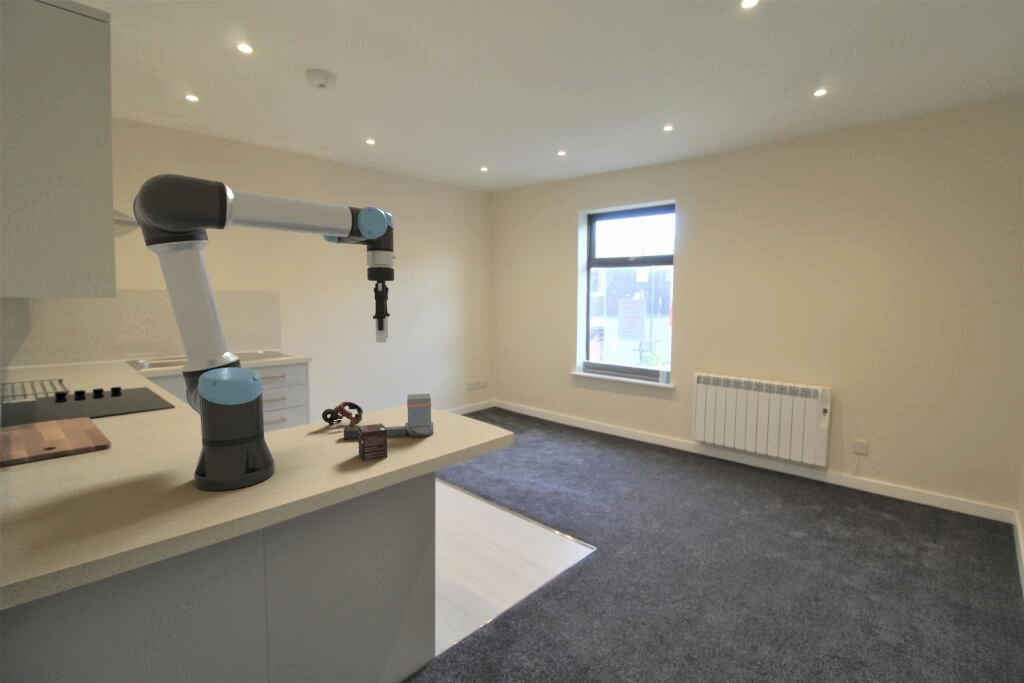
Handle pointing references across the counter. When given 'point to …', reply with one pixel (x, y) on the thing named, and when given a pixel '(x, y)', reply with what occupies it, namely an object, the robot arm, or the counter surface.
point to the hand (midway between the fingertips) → (382, 340)
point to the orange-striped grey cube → (419, 410)
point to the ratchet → (395, 432)
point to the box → (372, 442)
